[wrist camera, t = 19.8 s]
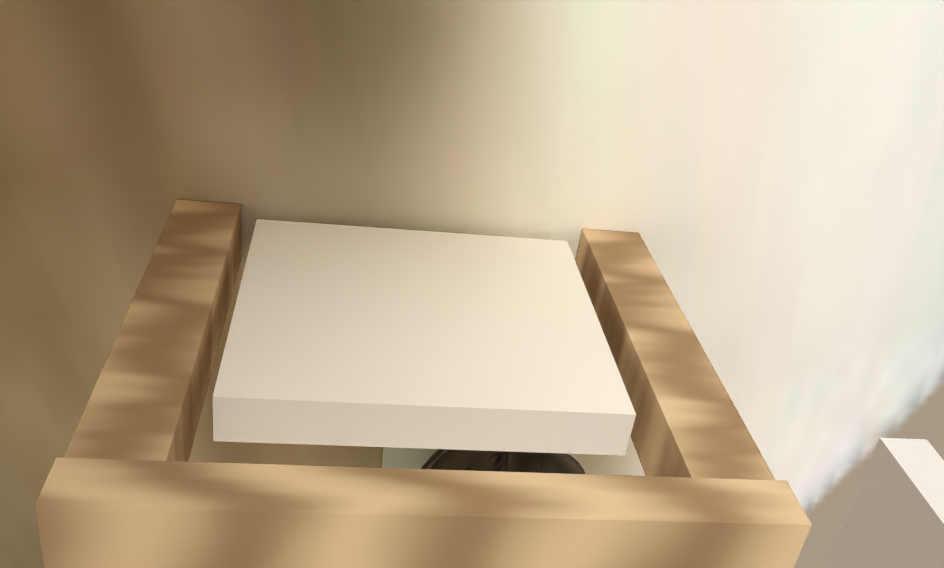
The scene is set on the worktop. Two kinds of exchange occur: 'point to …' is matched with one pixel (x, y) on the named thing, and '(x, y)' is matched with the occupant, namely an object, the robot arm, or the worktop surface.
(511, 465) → the alarm clock
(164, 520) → the door frame
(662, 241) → the worktop surface
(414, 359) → the door
